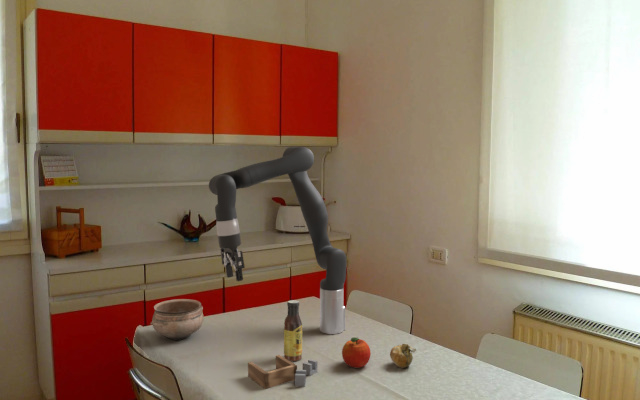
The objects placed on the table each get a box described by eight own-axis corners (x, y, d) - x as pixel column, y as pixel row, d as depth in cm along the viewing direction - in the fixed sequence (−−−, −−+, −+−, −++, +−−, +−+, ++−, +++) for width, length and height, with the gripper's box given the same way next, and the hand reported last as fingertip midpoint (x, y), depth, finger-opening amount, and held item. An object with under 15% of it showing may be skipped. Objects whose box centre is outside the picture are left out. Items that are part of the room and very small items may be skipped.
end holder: (278, 368, 176) (278, 354, 175) (297, 379, 167) (297, 365, 167) (248, 376, 169) (248, 362, 169) (265, 388, 161) (265, 374, 160)
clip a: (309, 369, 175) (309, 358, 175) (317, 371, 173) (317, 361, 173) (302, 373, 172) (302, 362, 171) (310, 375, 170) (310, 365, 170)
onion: (407, 360, 183) (408, 337, 182) (416, 369, 175) (417, 345, 175) (386, 361, 182) (386, 339, 181) (394, 371, 174) (395, 347, 173)
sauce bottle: (299, 362, 180) (299, 305, 178) (281, 361, 182) (281, 303, 180) (304, 355, 187) (304, 299, 185) (286, 354, 188) (286, 298, 186)
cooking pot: (170, 352, 189) (169, 318, 188) (135, 341, 199) (134, 309, 198) (219, 332, 210) (219, 301, 209) (185, 323, 220) (184, 294, 219)
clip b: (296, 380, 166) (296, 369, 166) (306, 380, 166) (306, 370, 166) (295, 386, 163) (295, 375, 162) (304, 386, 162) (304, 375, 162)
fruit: (374, 362, 181) (375, 333, 180) (364, 373, 172) (365, 342, 171) (348, 357, 185) (348, 329, 184) (337, 367, 176) (337, 338, 175)
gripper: (247, 232, 180) (253, 279, 181) (230, 229, 192) (236, 273, 193) (226, 236, 176) (232, 284, 177) (210, 233, 188) (217, 278, 190)
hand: (234, 278), depth 185 cm, fingers open, 8 cm apart
